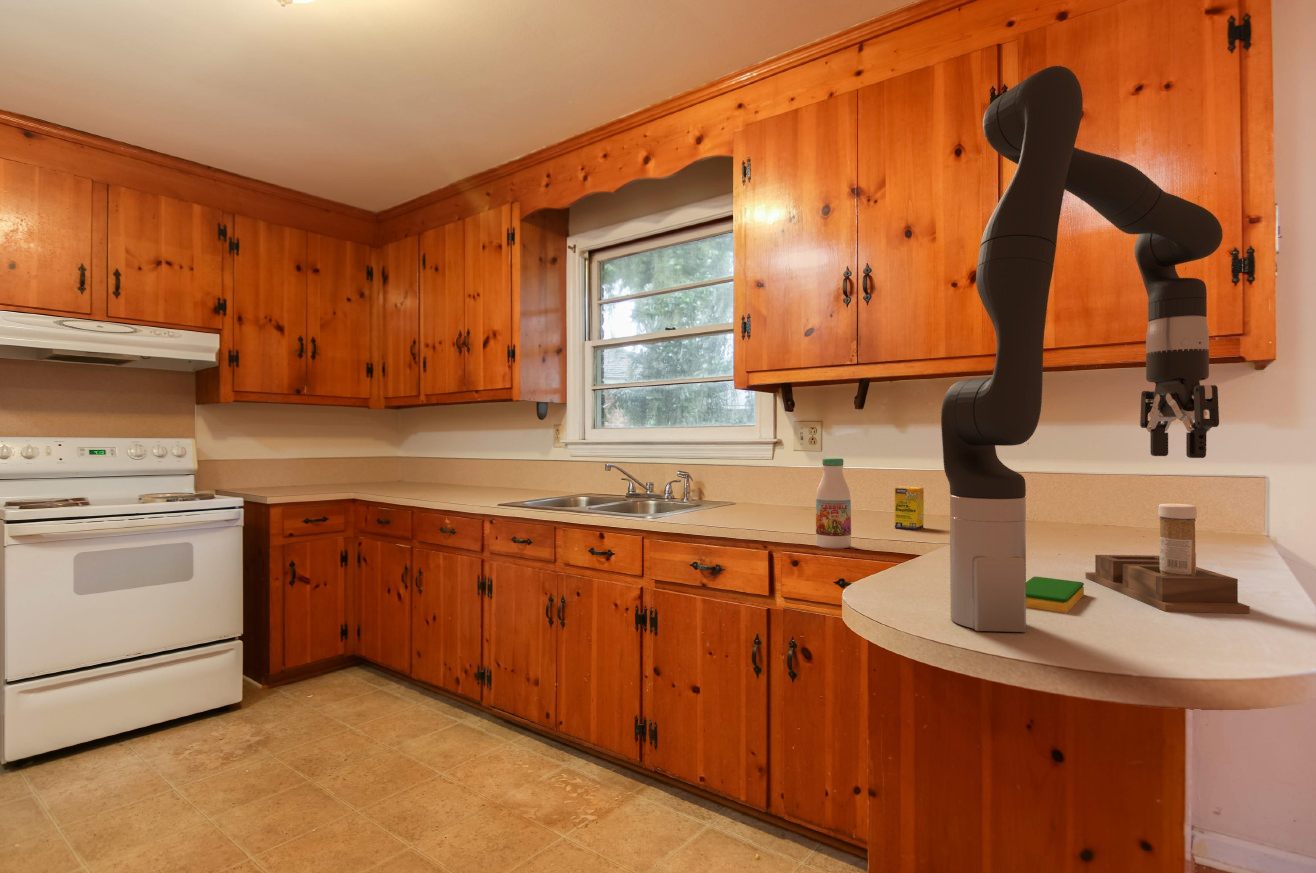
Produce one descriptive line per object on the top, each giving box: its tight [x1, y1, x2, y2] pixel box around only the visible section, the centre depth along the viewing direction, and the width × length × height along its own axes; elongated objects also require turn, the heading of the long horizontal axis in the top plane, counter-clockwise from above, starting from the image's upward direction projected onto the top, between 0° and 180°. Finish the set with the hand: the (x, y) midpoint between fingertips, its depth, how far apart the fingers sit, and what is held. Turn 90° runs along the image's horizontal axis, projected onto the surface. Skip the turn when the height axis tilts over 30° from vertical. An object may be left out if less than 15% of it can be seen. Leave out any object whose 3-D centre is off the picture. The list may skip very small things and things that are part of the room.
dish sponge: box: [1026, 576, 1085, 613], centre depth 103 cm, size 7×14×2 cm, turn 139°
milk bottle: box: [815, 457, 852, 549], centre depth 152 cm, size 8×8×20 cm
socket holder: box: [1085, 554, 1250, 614], centre depth 106 cm, size 22×11×4 cm, turn 173°
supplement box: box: [894, 485, 925, 531], centre depth 179 cm, size 6×6×11 cm
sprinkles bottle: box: [1157, 502, 1198, 576], centre depth 101 cm, size 5×5×14 cm
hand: (1176, 456), depth 101 cm, fingers open, 8 cm apart
